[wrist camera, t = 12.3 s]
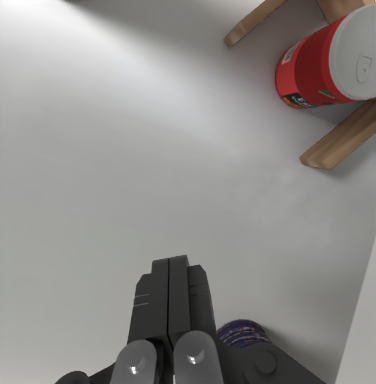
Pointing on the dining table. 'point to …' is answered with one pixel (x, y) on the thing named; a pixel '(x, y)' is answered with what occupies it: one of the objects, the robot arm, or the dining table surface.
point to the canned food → (331, 63)
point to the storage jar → (242, 334)
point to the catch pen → (353, 125)
